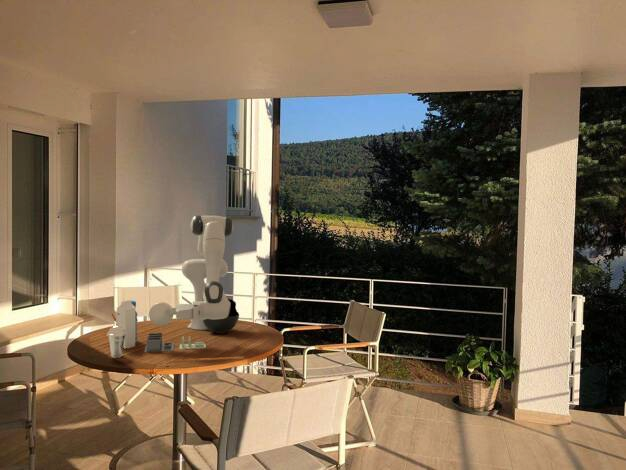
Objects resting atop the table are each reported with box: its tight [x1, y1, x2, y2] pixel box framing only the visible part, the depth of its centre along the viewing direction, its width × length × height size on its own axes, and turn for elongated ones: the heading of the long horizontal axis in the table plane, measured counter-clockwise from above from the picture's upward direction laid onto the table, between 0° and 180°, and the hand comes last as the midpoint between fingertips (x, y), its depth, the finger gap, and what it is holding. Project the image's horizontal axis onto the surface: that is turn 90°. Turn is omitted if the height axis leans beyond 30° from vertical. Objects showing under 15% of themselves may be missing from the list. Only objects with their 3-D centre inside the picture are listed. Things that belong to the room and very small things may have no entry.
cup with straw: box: [106, 312, 127, 359], centre depth 233 cm, size 8×9×20 cm
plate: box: [148, 301, 174, 327], centre depth 247 cm, size 2×11×11 cm, turn 104°
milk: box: [116, 299, 136, 350], centre depth 251 cm, size 6×6×22 cm
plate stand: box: [179, 336, 207, 350], centre depth 250 cm, size 9×12×5 cm
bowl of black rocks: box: [203, 298, 240, 334], centre depth 286 cm, size 20×20×19 cm
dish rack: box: [143, 332, 176, 353], centre depth 247 cm, size 16×13×6 cm
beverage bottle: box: [131, 300, 139, 343], centre depth 262 cm, size 8×8×20 cm
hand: (166, 311), depth 247 cm, fingers closed on plate, 2 cm apart
